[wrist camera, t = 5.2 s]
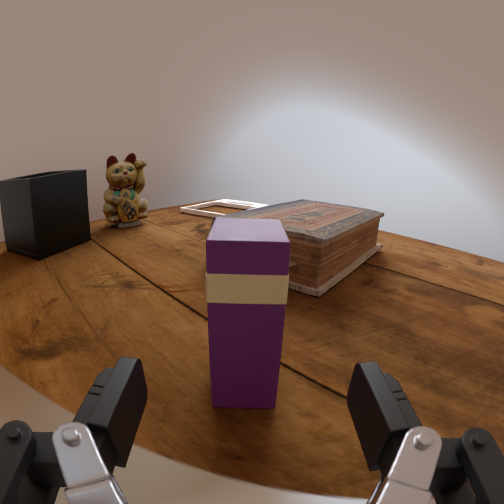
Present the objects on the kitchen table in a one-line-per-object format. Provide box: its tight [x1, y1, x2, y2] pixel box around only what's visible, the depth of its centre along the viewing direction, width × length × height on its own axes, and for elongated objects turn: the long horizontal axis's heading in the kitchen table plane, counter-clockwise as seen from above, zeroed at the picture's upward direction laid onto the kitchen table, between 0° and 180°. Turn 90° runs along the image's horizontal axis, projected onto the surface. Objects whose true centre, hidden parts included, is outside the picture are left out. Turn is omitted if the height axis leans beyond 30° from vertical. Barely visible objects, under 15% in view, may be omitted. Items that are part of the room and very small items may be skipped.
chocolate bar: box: [206, 218, 290, 408], centre depth 19 cm, size 5×4×11 cm
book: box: [210, 200, 384, 297], centre depth 46 cm, size 17×7×25 cm
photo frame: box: [180, 199, 270, 217], centre depth 79 cm, size 15×1×18 cm
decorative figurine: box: [103, 153, 148, 228], centre depth 61 cm, size 10×8×15 cm
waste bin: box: [0, 169, 91, 260], centre depth 46 cm, size 12×12×13 cm
